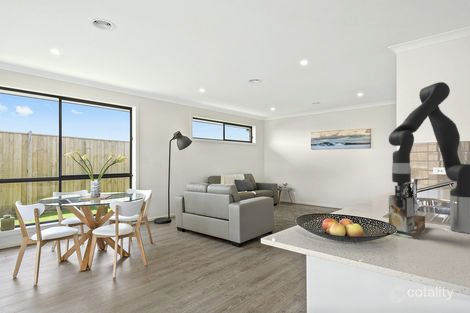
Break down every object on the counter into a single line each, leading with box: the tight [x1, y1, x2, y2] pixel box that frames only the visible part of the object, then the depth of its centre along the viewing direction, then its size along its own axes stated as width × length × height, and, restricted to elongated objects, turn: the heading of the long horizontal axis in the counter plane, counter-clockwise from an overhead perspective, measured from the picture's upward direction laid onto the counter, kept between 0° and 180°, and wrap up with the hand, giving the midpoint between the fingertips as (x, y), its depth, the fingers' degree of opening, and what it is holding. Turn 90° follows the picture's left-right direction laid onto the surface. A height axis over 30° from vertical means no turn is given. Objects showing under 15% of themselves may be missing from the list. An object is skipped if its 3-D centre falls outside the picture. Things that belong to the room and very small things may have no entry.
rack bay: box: [392, 214, 426, 240], centre depth 127 cm, size 13×27×6 cm, turn 136°
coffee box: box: [388, 194, 416, 233], centre depth 122 cm, size 9×6×16 cm
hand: (401, 206), depth 122 cm, fingers closed on coffee box, 8 cm apart
